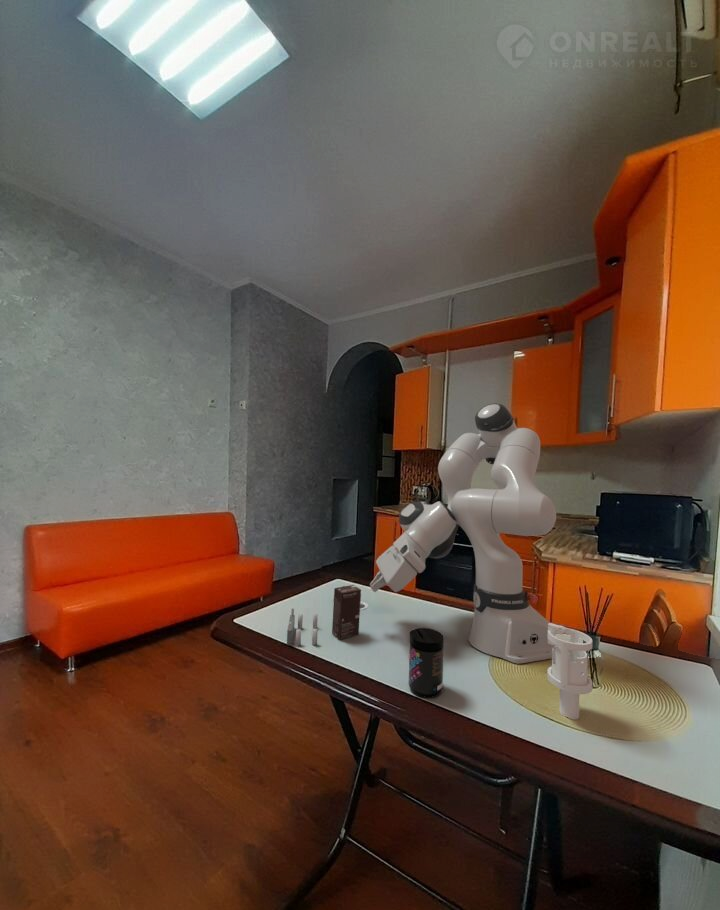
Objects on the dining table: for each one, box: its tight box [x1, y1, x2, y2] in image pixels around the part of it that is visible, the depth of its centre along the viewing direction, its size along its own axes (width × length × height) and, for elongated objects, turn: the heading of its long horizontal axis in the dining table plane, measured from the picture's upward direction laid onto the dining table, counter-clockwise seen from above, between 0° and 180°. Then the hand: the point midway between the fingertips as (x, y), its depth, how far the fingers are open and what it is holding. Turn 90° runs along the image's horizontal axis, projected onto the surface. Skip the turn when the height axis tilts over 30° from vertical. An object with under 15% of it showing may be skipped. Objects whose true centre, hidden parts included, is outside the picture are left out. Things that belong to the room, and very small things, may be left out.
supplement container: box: [408, 627, 445, 699], centre depth 71 cm, size 7×7×10 cm
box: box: [331, 584, 362, 641], centre depth 94 cm, size 6×4×12 cm
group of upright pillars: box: [286, 607, 319, 647], centre depth 92 cm, size 7×10×5 cm
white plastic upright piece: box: [546, 622, 593, 720], centre depth 65 cm, size 7×7×15 cm
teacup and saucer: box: [360, 599, 369, 611], centre depth 115 cm, size 9×8×4 cm
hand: (372, 588), depth 96 cm, fingers closed
